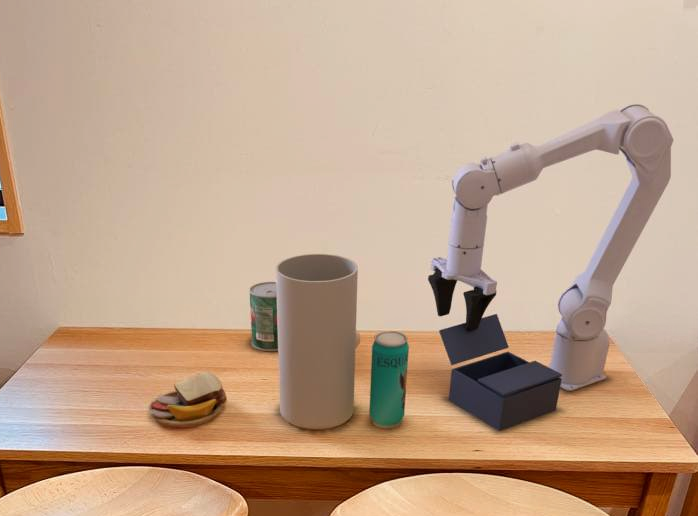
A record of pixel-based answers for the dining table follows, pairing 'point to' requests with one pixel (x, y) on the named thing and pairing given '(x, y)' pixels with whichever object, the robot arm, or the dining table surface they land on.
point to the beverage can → (388, 379)
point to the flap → (473, 340)
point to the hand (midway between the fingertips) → (457, 322)
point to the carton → (505, 389)
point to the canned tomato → (264, 316)
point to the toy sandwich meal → (189, 401)
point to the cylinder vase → (316, 339)
